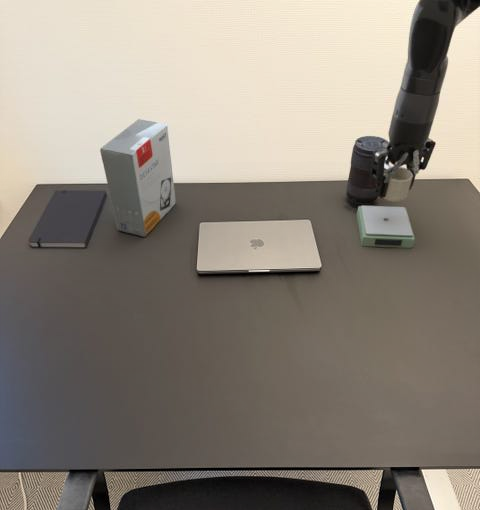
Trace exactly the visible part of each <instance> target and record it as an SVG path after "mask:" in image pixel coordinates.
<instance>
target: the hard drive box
mask: <svg viewBox="0 0 480 510" xmlns="http://www.w3.org/2000/svg"><path fill="white" fill-rule="evenodd" d="M169 137H170V136H169V129H168V123H163V122H157V121H152V120H145V119H140V118H138V119H137V120H136V121H134V122H133V123H131V124H130V125H128V127H126V128H125V129H124V130H122V131H121V132H120V133H118V134H117V135H116V136H115V137H113V138H112V139H111V140H110V141H108V142H107V143H105V144H104V145H102V146H101V147H100V149H99V151H100V156H101V161H102V165H103V169H104V170H103V171H104V174H105V178H106V183H107V188H108V192H109V197H110V201H111V205H112V210H113V216H114V219H115V224H116V230H117V231H119V232H124V233H127V234H131V235H135V236H140V237H143V238H145V237H147V236H148V235H149V233H150V232H152V231H153V230H154V229H155V227H156V226H157V225H158V224H159V222H160V221H162V219H163V218H164V217H165V216H166V215H167V214H168V213H169V212H170V211H171V209H172V208H173V207H174V206H175V205H176V204H177V199H176V193H175V192H176V191H175V184H174V183H175V181H174V174H173V165H172V156H171V147H170V139H169Z"/></svg>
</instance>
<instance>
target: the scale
mask: <svg viewBox="0 0 480 510" xmlns="http://www.w3.org/2000/svg"><path fill="white" fill-rule="evenodd" d="M356 219H357V227H358V233H359V238H360V245H361V247H375V248H376V247H378V248H380V247H381V248H401V249H402V248H404V249H413V247H414V244H415V241H416V238H415V235H414V230H413V228H412V224H411V221H410V217H409V213H408V210H407V208H406V207H405V206H387V205H386V206H385V205H384V206H383V205H382V206H381V205H373V206H358V208H357V211H356Z"/></svg>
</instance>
